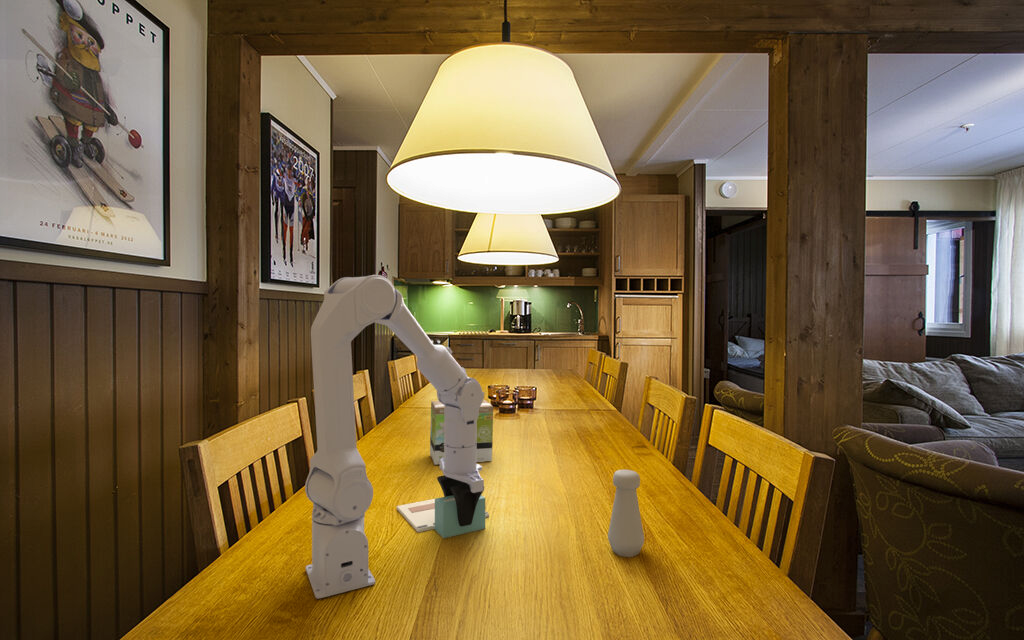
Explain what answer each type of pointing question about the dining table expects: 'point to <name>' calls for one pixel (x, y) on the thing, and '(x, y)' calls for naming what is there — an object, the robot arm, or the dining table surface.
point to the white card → (421, 514)
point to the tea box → (482, 432)
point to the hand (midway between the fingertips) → (460, 520)
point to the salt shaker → (626, 515)
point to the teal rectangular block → (456, 517)
